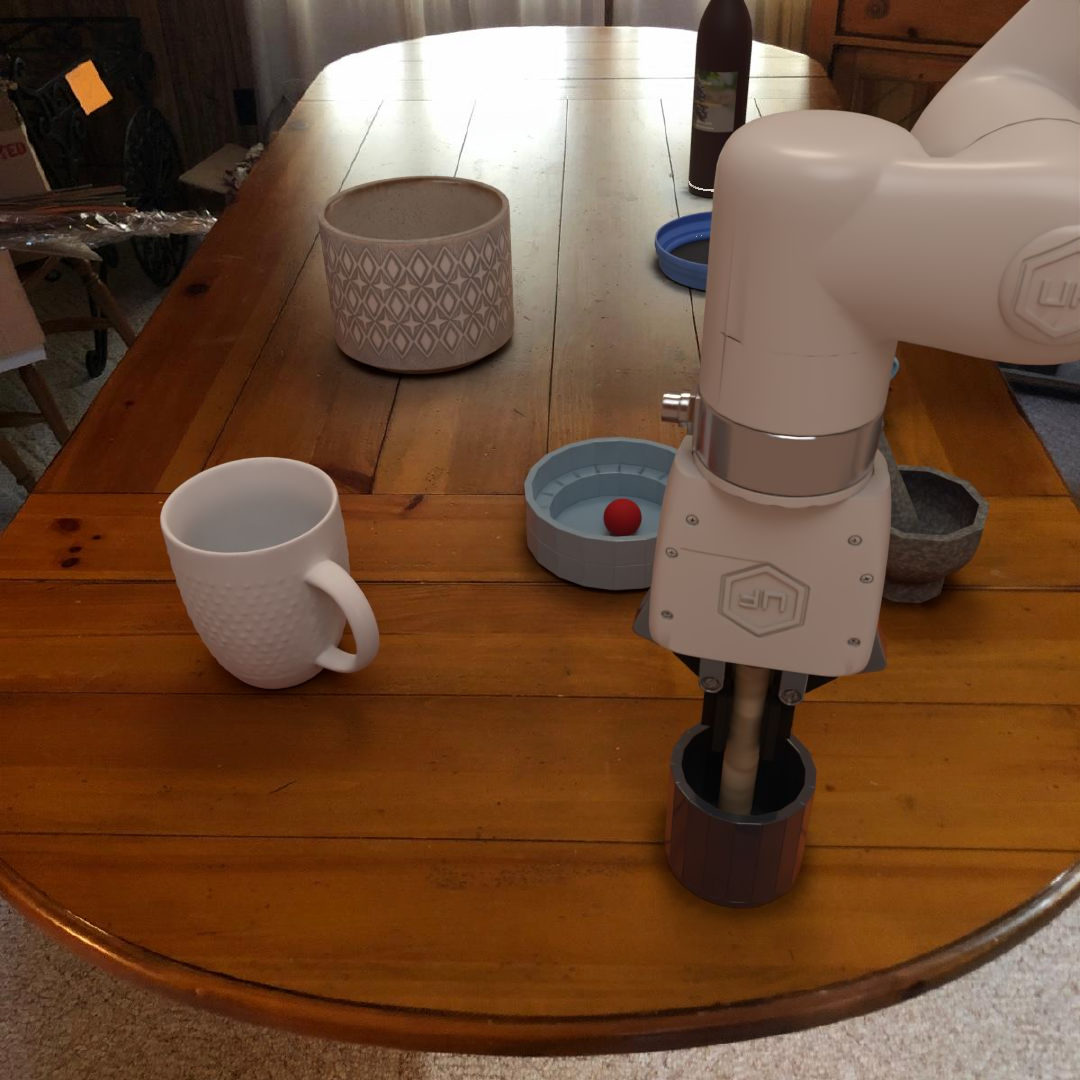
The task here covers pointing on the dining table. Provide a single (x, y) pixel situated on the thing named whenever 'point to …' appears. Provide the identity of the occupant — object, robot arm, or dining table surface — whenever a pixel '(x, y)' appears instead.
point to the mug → (268, 571)
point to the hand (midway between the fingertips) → (744, 734)
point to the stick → (743, 738)
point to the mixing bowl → (596, 510)
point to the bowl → (685, 249)
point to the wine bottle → (718, 86)
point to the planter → (419, 272)
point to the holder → (737, 822)
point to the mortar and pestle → (928, 528)
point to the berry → (622, 517)
